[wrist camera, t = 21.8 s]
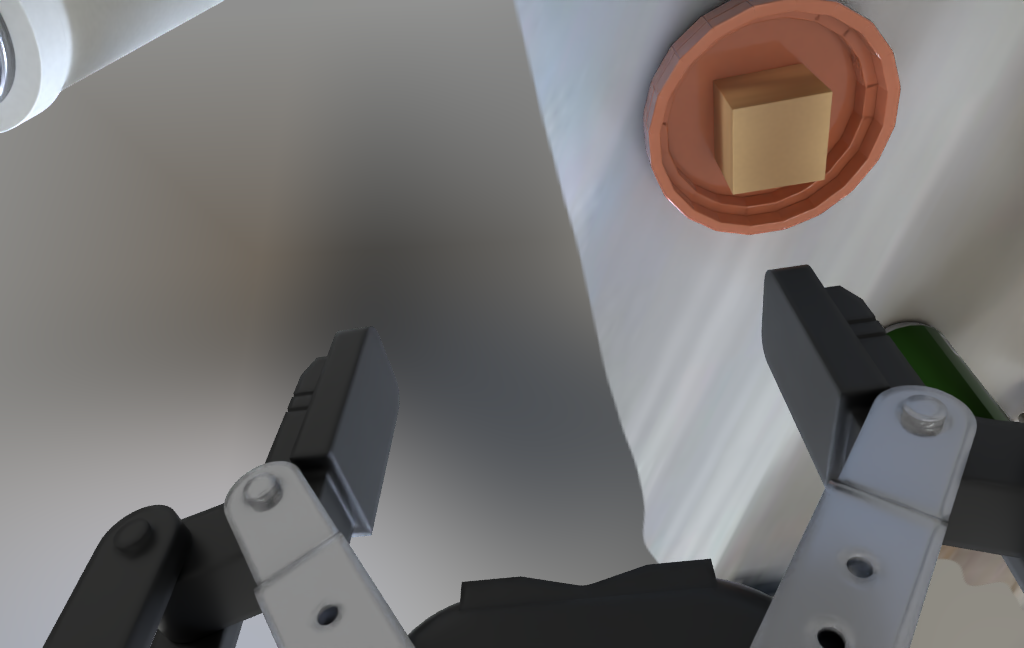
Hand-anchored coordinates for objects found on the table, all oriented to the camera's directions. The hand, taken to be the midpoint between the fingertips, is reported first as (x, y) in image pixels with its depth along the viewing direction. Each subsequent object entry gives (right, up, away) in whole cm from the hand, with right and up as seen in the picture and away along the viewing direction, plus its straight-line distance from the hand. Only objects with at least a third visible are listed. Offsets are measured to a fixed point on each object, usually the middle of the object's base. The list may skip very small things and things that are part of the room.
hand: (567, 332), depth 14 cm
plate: (+12, +12, +22) cm, 28 cm away
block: (+12, +12, +22) cm, 27 cm away
